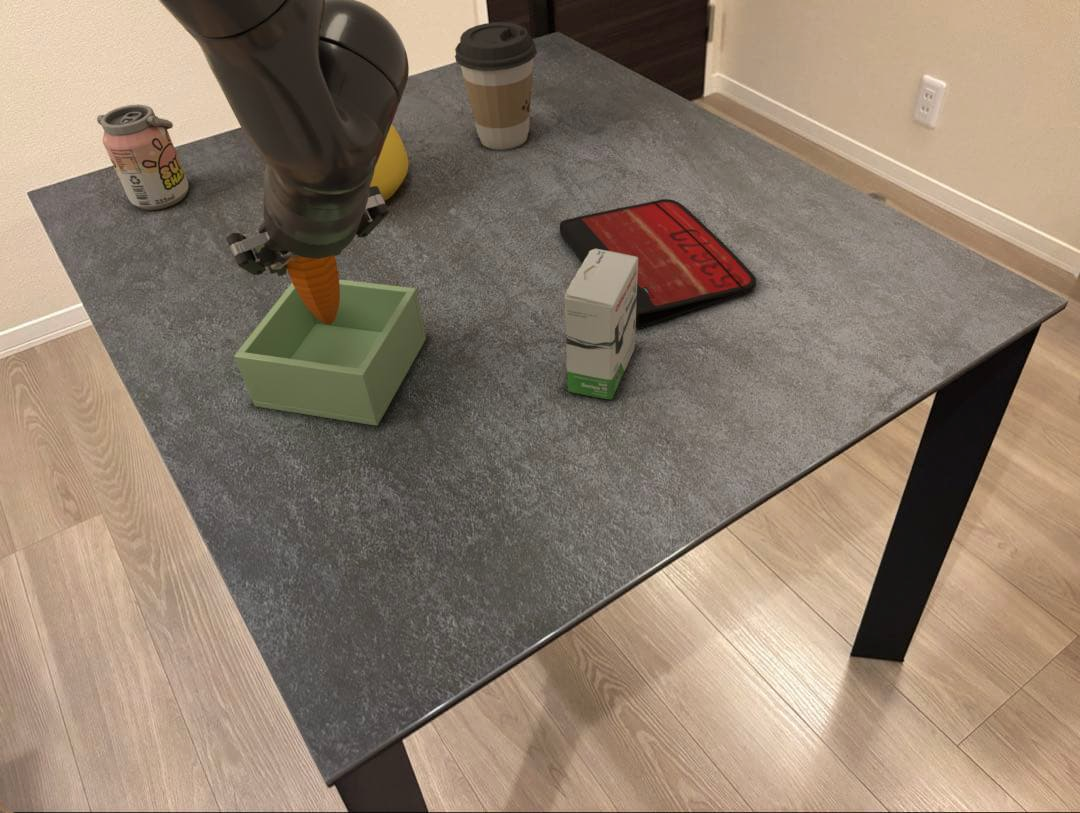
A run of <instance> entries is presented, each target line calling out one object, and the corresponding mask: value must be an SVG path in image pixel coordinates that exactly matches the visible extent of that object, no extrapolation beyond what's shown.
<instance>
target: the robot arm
mask: <svg viewBox="0 0 1080 813" xmlns="http://www.w3.org/2000/svg"><path fill="white" fill-rule="evenodd" d="M158 2H159V3H160V4H161V5H162V6H163V7H164V8H165V9H166V11H168V12H169V14H171V16H172V17H173V18H174V19H175V20H176V21H177V22H178V24H180V25H181V26H182V27H183V28H184V30H185V31H186V32H187V33H188V34H189V35H190V36H191V37H192V38H193V39H194V40H195V41H196V42H197V44H198V46H199V47H200V49H201V51H202V53H203V55H204V57H205V59H206V62H207V64H208V66H209V68H210V70H211V72H212V74H213V76H214V78H215V80H216V82H217V83H218V85H219V87H220V89H221V91H222V94H224V97H225V99H226V100H227V103H228V105H229V107H230V108H231V110H232V112H233V114H234V117H235V118H236V120H237V122H238V124H239V126H240V128H241V129H242V131H243V133H244V134H245V136H246V137H247V139H248V141H249V142H250V144H251V145H252V147H253V148H254V149H255V150H256V152H257V154H259V156H260V157H261V158H262V159H263V160H264V162H266V166H265V169H264V176H263V222H262V223H261V224H260V226H259V227H258V233H257V234H255V235H252V236H250V234H249V233H244V234H243V233H241V232H232V233H230V234H229V235H228V236H226V238H225V240H226V242H227V245H228V246H229V248H230V250H231V253H232V255H233V257H234V259H235V262H236V263H237V265H238V267H239V268H241V269H243V270H245V271H246V272H248V273H249V274H251V275H252V276H259V275H262V274H264V272H266V271H267V270H268V272H269V274H271V275H274V274H277V276H278V277H281V276H284V275H287V264H290V263H293V262H296V261H297V260H298V259H299V258H300V257H305V258H316V259H317V258H325V257H329V256H332V255H335V257H337V256H339V255H341V253H342V252H343V250H345V249H347V247H348V246H349V245H350V244H351V243H352V242H353V240H354V238H355V237H356V235H357V238H366V237H368V235H370V234H372V232H373V231H374V229H376V228H377V226H378V225H379V224H380V223H381V222H382V221H383V220H384V219H385V218H386V217H387V216H388V215H389V214H390V210H389V208H388V206H387V204H386V202H385V201H386V200H385V201H384V199H383V197H382V195H381V192H380V190H379V188H378V186H372V187H370V184H371V181H372V178H373V174H374V170H375V166H376V164H377V162H378V159H379V157H380V154H381V151H382V148H383V146H384V142H385V140H386V137H387V135H388V132H389V129H390V127H391V124H392V125H393V121H394V119H395V117H396V113H397V111H398V109H399V105H400V103H401V101H402V98H403V95H404V92H405V90H406V87H407V84H408V79H409V75H410V74H409V70H410V68H409V66H410V65H409V59H408V54H407V51H406V46H405V44H404V42H403V40H402V38H401V36H400V34H399V33H398V31H397V30H396V29H395V27H394V26H393V25H392V23H391V22H390V21H389V20H388V18H386V17H385V16H384V15H383V14H382V13H380V12H379V11H378V10H376V9H375V8H373V7H372V6H370V5H369V4H367V3H364V2H361V1H359V0H158ZM266 267H267V269H266ZM0 813H14V812H13V811H12V810H11V809H10V808H8V807H6V806H5V805H3V803H1V802H0Z"/></svg>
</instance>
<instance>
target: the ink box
mask: <svg viewBox="0 0 1080 813" xmlns="http://www.w3.org/2000/svg"><path fill="white" fill-rule="evenodd" d="M637 277H638V257H635V256H631V255H627V254H622V253H617V252H612V251H606V250H601V249H593V250H590V251H589V253H588V255H587V257H586V258H585V260H584V262H582V264H581V266H580V267H579V269H578V270H577V272H576V273H575V275H574V277H573V278H572V280H571V282H570V284H569V286H568V287H567V289H566V291H565V294H564V297H563V298H564V299H563V300H564V328H565V329H564V330H565V360H566V361H565V364H566V384H567V385H566V386H567V391H568V392H569V393H573V394H578V395H582V396H588V397H593V398H599V399H605V400H613V399H614V396H615V395H616V392H617V389H618V387H619V385H620V383H621V380H622V378H623V376H624V374H625V371H626V369H627V367H628V365H629V362H630V360H631V357H632V355H633V354H634V351H635V348H636V327H635V326H636V301H637Z"/></svg>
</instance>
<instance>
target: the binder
mask: <svg viewBox="0 0 1080 813" xmlns="http://www.w3.org/2000/svg"><path fill="white" fill-rule="evenodd" d="M559 233H560V234H559V235H560V236H561V237H562V238H563V239H564V240H565V242H566V243H567V245H568V246H569V247H570V248H571V249H572V251H573V252H574V254H575V255H576V257H577V258H579V260H580V261H581V262H582V263H583V262H584V260H585V258H586V257H587V255H588V253H589V251H590V250H593V249H601V250H606V251H612V252H617V253H622V254H627V255H631V256H635V257H638V277H637V301H636V326H635V330H640V329H642V328H646V327H649V326H652V325H654V324H657V323H659V322H663V321H666V320H668V319H671V318H674V317H678V316H680V315H683V314H686V313H689V312H691V311H694V310H697V309H700V308H704V307H706V306H710V305H712V304H715V303H718V302H722V301H724V300H727V299H730V298H733V297H737V296H739V295H743V294H745V293H748V292H750V291H752V290H754V289H755V288H756V283H757V278H756V277H755V275H754V274H753V273H752V272H751V270H750V269H749V268H748V267H747V266H746V265H745V264H744V263H743V262H742V260H741V259H740V258H739V257H738V256H737V255H736V254H735V253H734V252H733V251H732V250H731V249H730V247H728V246H727V245H726V244H725V243H724V242H723V241H721V239H720V238H719V237H718V236H717V235H716V234H715V233H714V232H712V231H711V230H710V229H709V227H708V226H706V225H705V224H704V223H703V222H702V221H701V220H700V219H699V218H698V217H697V216H695V215H694V214H693V213H692V212H691V211H690V210H689V209H688V208H687V207H686V206H685V205H683V204H682V203H681V202H679V201H677V200H674V199H671V198H670V199H669V198H663V199H658V200H652V201H649V202H643V203H640V204H633V205H628V206H623V207H617V208H613V209H608V210H604V211H598V212H594V213H591V214H590V213H589V214H585V215H581V216H575V217H572V218H568V219H564V220H561V221H560V223H559Z"/></svg>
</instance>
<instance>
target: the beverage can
mask: <svg viewBox="0 0 1080 813" xmlns="http://www.w3.org/2000/svg"><path fill="white" fill-rule="evenodd" d="M96 121H97V123H98V124H99V125H100V126H101V128H102V129H103V136H102V144H103V146H104V149H105V152H106V153H107V156H108V157H109V160H110V161H111V164H112V166H113V168H114V170H115V172H116V175H117V177H118V179H119V182H120V184H121V186H122V188H123V190H124V193H125V195H126V196H127V199H128V200H129V202H130V203H131V204H132V205H133V206H134V207H137V208H140V209H141V210H145V211H157V210H163V209H166V208H169V207H172V206H174V205H176V204H177V203H180V202H181V201H182V200H183V199H185V197H186V196H187V193H188V192H189V181H188V180H187V179H188V178H187V177H186V176H187V175H186V173H185V171H184V169H183V167H182V163H181V161H180V158H179V156H178V153H177V151H176V148H175V146H174V143H173V141H172V138H171V136H170V133H169V131H168V130H170V129H173V127H174V124H173V122H172V121H170V120H168V119H165V118H160V117H158V116H157V115H156V114H155V112H154V109H153V108H152V107H151V106H149V105H146V104H129V105H124V106H120V107H117V108H114V109H112V110H110V111H108V112H107V113H105V114H99V115H97V117H96Z"/></svg>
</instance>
